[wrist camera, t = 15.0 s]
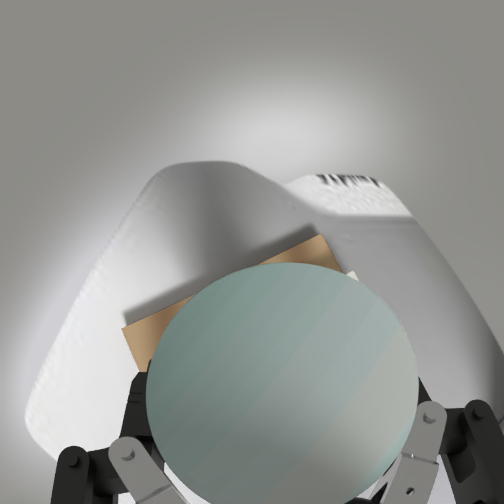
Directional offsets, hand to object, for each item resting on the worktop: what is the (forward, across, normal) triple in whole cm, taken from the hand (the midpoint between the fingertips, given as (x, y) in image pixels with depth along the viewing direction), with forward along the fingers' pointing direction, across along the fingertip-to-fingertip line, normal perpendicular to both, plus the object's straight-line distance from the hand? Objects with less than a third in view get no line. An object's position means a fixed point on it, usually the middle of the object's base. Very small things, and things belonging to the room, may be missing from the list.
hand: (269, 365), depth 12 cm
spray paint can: (+10, 0, +10) cm, 14 cm away
